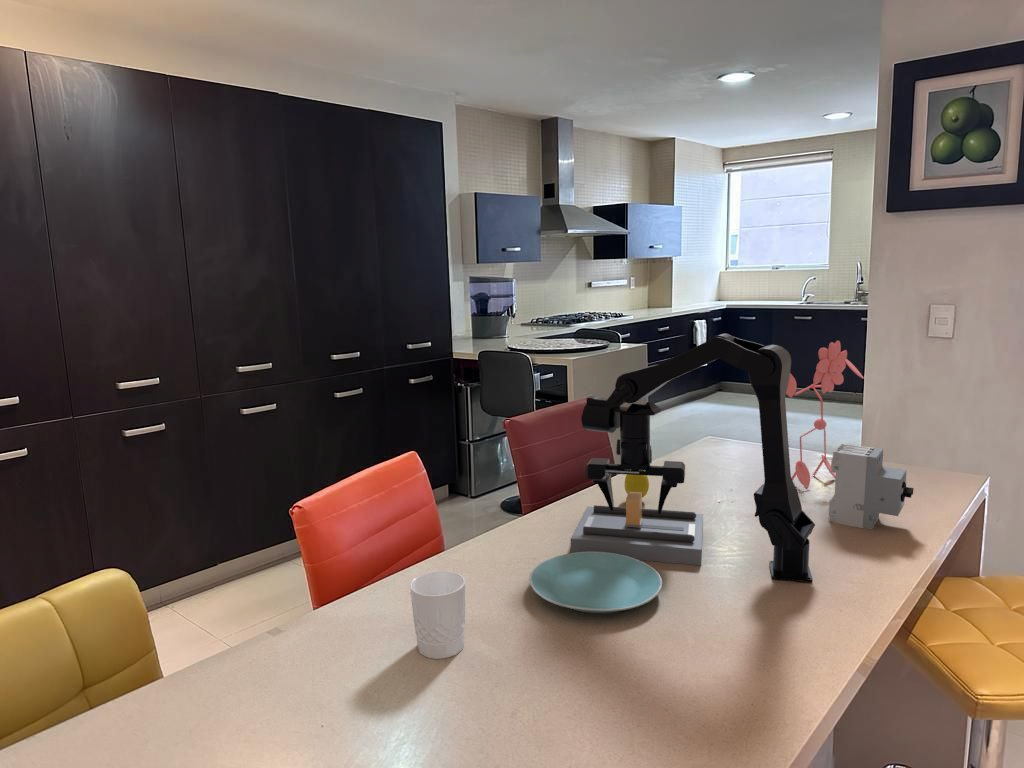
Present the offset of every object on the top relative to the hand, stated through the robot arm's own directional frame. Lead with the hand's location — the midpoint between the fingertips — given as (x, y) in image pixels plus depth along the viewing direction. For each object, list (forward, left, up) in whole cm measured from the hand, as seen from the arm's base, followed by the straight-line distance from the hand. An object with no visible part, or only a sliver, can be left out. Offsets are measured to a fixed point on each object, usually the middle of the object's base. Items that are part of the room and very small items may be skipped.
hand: (635, 512), depth 135 cm
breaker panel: (0, -1, -6) cm, 6 cm away
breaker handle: (0, 0, -3) cm, 3 cm away
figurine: (+42, -41, -6) cm, 59 cm away
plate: (-23, +4, -6) cm, 24 cm away
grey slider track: (0, -1, -3) cm, 3 cm away
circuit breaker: (+19, -46, -6) cm, 50 cm away
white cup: (-45, +23, -6) cm, 51 cm away
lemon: (+23, +2, -6) cm, 24 cm away
